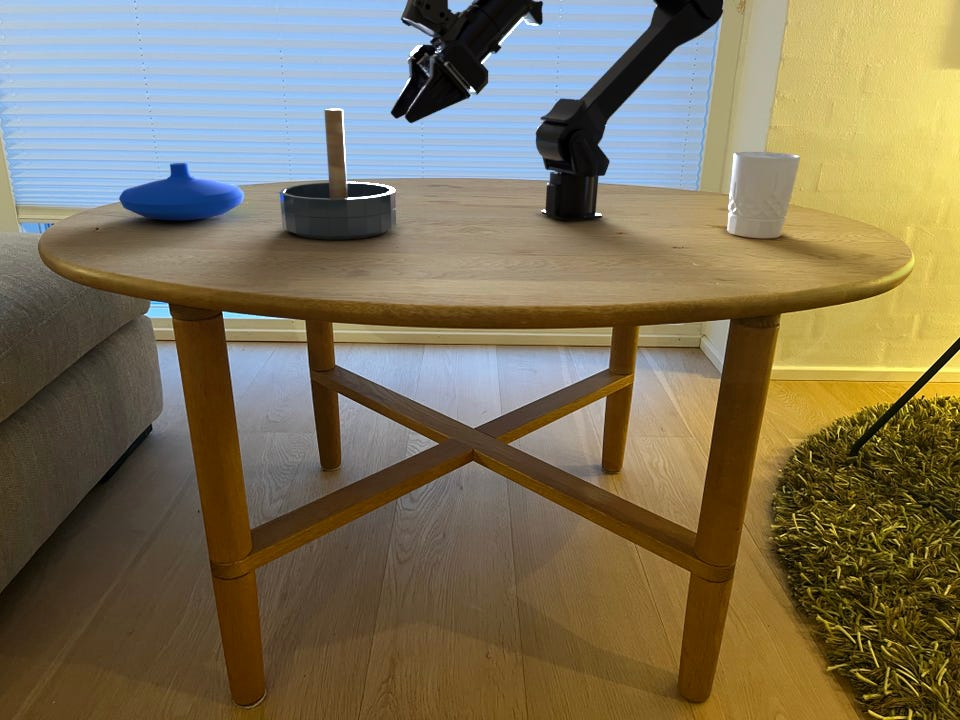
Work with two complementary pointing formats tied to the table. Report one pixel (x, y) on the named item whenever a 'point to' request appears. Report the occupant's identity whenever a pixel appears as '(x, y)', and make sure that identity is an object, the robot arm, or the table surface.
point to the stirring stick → (336, 153)
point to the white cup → (760, 193)
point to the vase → (181, 197)
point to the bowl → (338, 211)
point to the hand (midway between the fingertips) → (399, 118)
